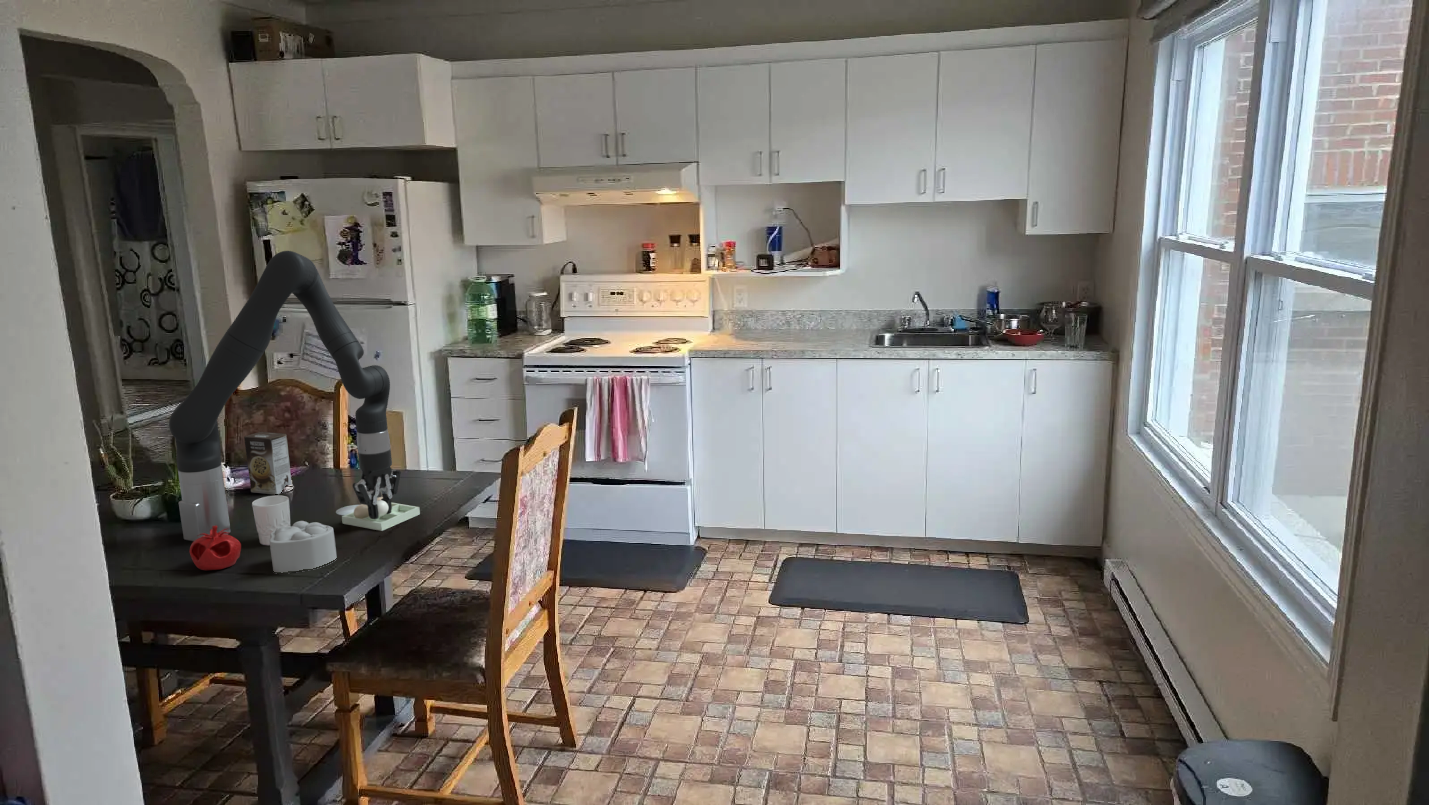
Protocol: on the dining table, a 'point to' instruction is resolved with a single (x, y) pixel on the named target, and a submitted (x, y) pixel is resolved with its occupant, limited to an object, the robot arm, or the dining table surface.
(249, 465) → the coffee box
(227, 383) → the robot arm
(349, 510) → the saucer
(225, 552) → the red tomato lantern
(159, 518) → the dining table surface
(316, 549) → the lumpy-topped squat cylinder
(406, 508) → the tray
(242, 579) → the dining table surface
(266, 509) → the white cup
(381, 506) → the egg
